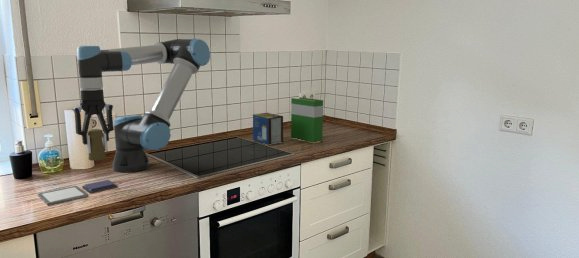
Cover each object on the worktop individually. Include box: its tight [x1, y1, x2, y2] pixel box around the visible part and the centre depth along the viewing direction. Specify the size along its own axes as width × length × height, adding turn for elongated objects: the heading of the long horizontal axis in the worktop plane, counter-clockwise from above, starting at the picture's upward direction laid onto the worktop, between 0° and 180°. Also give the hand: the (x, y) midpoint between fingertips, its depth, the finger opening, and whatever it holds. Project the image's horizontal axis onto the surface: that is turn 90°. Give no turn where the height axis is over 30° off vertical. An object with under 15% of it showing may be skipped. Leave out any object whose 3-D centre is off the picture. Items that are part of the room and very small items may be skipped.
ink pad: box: [81, 179, 118, 194], centre depth 158 cm, size 10×8×1 cm
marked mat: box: [37, 185, 89, 206], centre depth 149 cm, size 13×13×1 cm
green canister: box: [290, 96, 324, 142], centre depth 239 cm, size 18×7×24 cm, turn 45°
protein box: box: [252, 112, 284, 146], centre depth 235 cm, size 10×15×16 cm
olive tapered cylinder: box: [87, 128, 107, 161], centre depth 155 cm, size 6×6×11 cm
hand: (96, 151), depth 156 cm, fingers closed on olive tapered cylinder, 5 cm apart
